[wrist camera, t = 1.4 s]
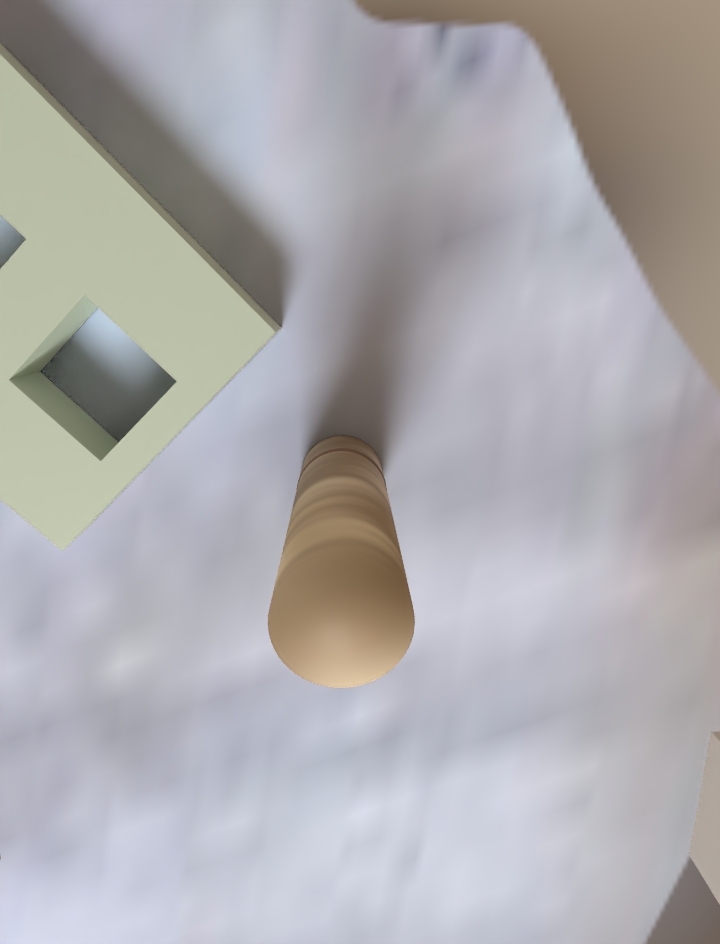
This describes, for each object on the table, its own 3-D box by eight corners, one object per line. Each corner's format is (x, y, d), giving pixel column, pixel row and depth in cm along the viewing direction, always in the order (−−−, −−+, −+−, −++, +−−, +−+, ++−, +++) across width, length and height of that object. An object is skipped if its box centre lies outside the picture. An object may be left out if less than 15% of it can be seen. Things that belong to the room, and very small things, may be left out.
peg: (284, 474, 32) (236, 623, 18) (342, 418, 31) (342, 524, 17) (341, 529, 33) (341, 714, 19) (399, 475, 32) (445, 623, 18)
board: (-193, 290, 29) (-252, 289, 26) (2, 44, 27) (-39, 15, 24) (87, 527, 33) (62, 550, 30) (281, 328, 30) (275, 331, 27)
